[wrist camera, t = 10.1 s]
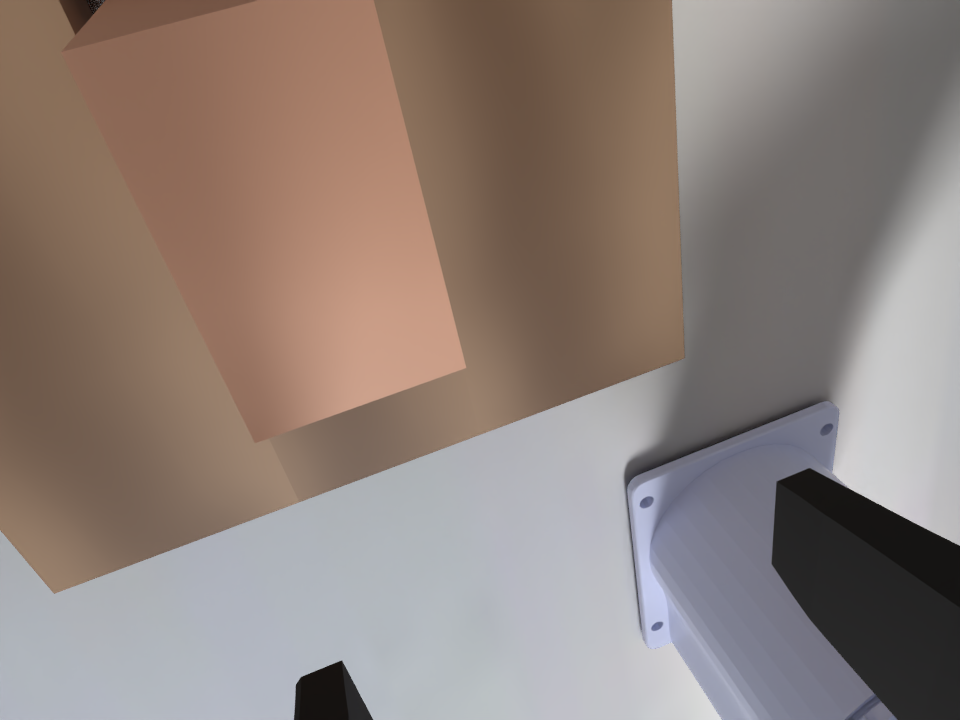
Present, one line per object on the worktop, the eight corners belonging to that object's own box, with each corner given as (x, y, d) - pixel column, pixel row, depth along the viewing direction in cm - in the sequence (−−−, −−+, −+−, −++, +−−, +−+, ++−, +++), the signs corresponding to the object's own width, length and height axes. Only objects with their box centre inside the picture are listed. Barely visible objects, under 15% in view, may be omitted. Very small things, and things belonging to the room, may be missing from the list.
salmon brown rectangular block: (285, -63, 14) (365, -29, 7) (360, 186, 17) (466, 367, 10) (124, -22, 13) (60, 52, 7) (230, 226, 16) (255, 443, 10)
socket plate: (572, -511, 12) (649, -594, 10) (637, 314, 21) (684, 358, 19) (-568, -326, 9) (-775, -387, 7) (68, 518, 19) (53, 593, 17)
